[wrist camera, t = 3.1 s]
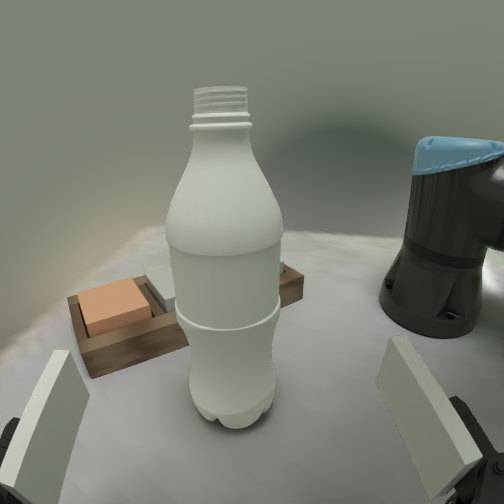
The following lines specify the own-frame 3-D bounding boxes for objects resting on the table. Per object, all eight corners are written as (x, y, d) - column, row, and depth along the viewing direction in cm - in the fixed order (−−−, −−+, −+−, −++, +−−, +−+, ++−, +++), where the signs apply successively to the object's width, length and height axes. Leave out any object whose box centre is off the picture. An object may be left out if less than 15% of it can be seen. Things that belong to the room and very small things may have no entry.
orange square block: (135, 296, 39) (131, 277, 38) (153, 326, 34) (149, 304, 33) (82, 312, 36) (76, 292, 34) (93, 345, 30) (85, 324, 29)
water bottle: (237, 451, 22) (219, 79, 12) (177, 406, 26) (132, 95, 16) (290, 401, 27) (309, 89, 17) (231, 367, 31) (221, 93, 21)
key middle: (197, 277, 44) (195, 259, 43) (224, 301, 39) (223, 281, 37) (147, 292, 40) (144, 273, 39) (168, 321, 35) (165, 299, 34)
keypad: (251, 265, 52) (250, 245, 51) (302, 298, 43) (304, 275, 42) (74, 320, 37) (67, 297, 36) (91, 378, 28) (80, 354, 27)
